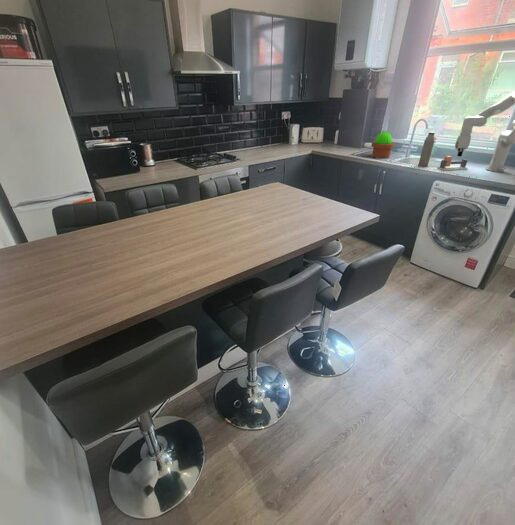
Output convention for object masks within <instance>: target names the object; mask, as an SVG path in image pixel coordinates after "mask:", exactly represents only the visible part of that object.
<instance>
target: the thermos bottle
mask: <svg viewBox="0 0 515 525" xmlns="http://www.w3.org/2000/svg"><path fill="white" fill-rule="evenodd" d="M435 134H436V133H435V132H428V134H427V136H426V137H425V139H424V141H423V145H422V150H421V153H420V156H419V159H418V160H419V162H418V167H429V162H430V160H431V157H432V152H433V148H434V145H435V141H436V139H435V138H436V137H435Z"/></svg>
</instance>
